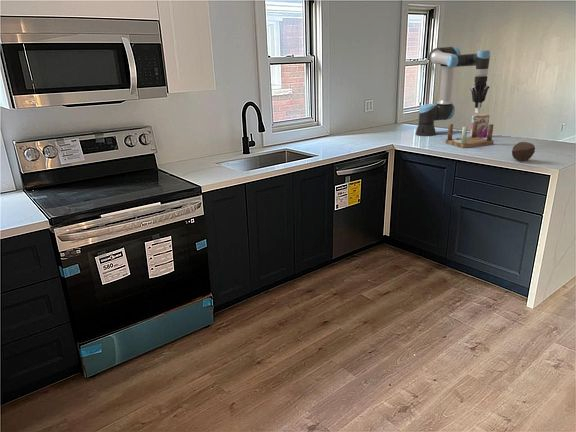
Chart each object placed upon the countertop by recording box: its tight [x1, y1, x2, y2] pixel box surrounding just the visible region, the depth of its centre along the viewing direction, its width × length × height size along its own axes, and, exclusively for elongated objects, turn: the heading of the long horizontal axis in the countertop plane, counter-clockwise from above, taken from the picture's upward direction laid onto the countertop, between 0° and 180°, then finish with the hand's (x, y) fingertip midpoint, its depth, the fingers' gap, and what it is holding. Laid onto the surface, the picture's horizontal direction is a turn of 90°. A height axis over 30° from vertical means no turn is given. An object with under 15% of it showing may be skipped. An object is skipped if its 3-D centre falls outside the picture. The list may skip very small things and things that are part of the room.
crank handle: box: [454, 126, 468, 144], centre depth 286 cm, size 11×3×11 cm, turn 13°
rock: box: [511, 141, 536, 162], centre depth 244 cm, size 12×10×10 cm
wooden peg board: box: [444, 121, 494, 149], centre depth 293 cm, size 20×24×14 cm
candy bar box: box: [469, 114, 490, 138], centre depth 312 cm, size 11×5×16 cm, turn 84°
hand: (477, 112), depth 282 cm, fingers closed
